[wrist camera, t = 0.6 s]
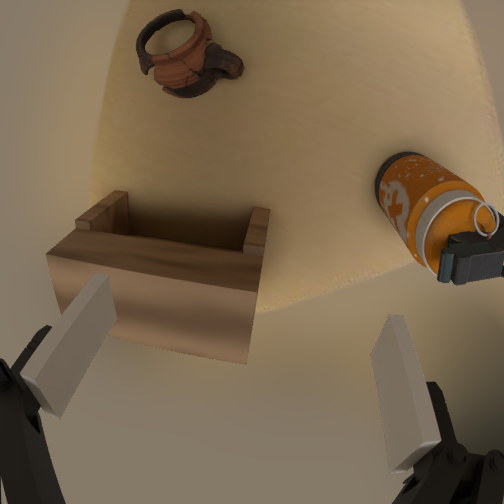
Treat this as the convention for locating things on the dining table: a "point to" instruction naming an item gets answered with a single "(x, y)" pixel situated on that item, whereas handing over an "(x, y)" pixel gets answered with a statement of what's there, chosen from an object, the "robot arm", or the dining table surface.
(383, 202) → the canister
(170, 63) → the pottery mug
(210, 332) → the hutch
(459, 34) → the dining table surface
